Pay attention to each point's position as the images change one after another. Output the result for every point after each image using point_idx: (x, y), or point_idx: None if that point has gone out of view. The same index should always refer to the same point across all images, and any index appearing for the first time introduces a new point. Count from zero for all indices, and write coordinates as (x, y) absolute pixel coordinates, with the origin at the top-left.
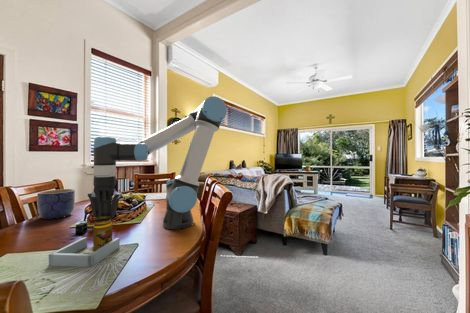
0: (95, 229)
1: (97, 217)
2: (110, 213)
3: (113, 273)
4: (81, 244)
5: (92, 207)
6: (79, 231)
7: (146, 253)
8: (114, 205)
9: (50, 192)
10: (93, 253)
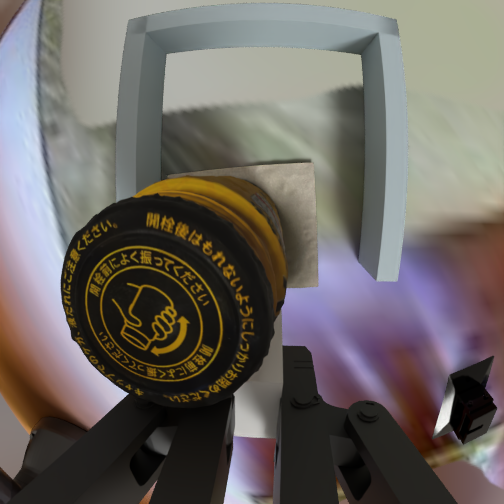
0: (210, 179)
1: (239, 320)
2: (121, 427)
3: (53, 40)
4: (372, 224)
5: (442, 501)
6: (471, 394)
7: (12, 197)
8: (25, 493)
9: None
10: (132, 39)
